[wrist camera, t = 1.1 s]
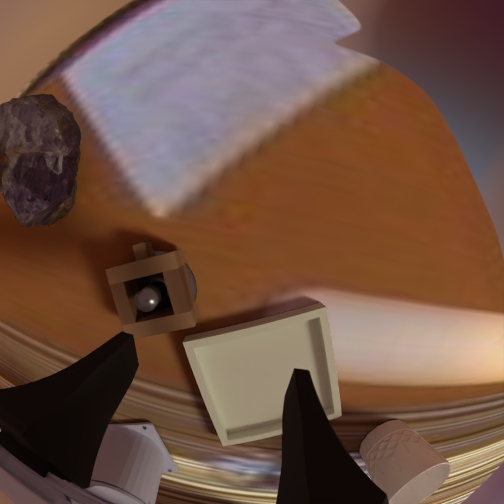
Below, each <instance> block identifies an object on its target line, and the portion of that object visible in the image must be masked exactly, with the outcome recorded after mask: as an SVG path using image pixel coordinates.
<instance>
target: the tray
mask: <svg viewBox="0 0 504 504" xmlns="http://www.w3.org/2000/svg"><path fill="white" fill-rule="evenodd" d="M183 345H184V348H185V351H186V354H187V357H188V360H189V362H190V365H191V368H192V371H193V374H194V376H195V379H196V382H197V384H198V387H199V389H200V392H201V395H202V397H203V400H204V402H205V405H206V407H207V410H208V412H209V415H210V417H211V419H212V422H213V424H214V427H215V429H216V431H217V434H218V436H219V438H220V440H221V443H222V445H223V446H228V445H233V444H239V443H244V442H249V441H254V440H259V439H264V438H268V437H272V436H276V435H281V434H282V413H283V404H284V396H285V393H286V390H287V388H288V385H289V382H290V379H291V376H292V373H293V370H294V368H297V369H306V370H309V371H310V374H311V377H312V381H313V384H314V387H315V389H316V392H317V395H318V397H319V400H320V402H321V404H322V407H323V409H324V411H325V413H326V415H327V418H328V420H331V419H334V418H337V417H340V416H342V412H341V403H340V395H339V387H338V379H337V372H336V365H335V358H334V351H333V345H332V338H331V332H330V326H329V320H328V314H327V309H326V306H325V305H323V304H322V303H321V302H320V303H317V304H313V305H310V306H306V307H303V308H299V309H296V310H292V311H288V312H285V313H281V314H277V315H273V316H269V317H266V318H262V319H258V320H254V321H250V322H246V323H242V324H237V325H233V326H229V327H225V328H220V329H216V330H211V331H207V332H202V333H198V334H193V335H188V336H185V338H184V340H183Z"/></svg>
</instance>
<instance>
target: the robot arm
mask: <svg viewBox="0 0 504 504" xmlns="http://www.w3.org/2000/svg"><path fill="white" fill-rule="evenodd" d="M138 366H139V363H138V358H137V353H136V348H135V342H134V336H133V334H129V333H126V332H123V331H122V332H120V333H119V334H117V335H116V336H114V337H113V338H111V339H110V340H109V341H107V342H106V343H104V344H103V345H102V346H100V347H99V348H97V349H96V350H94V351H93V352H91V353H90V354H88V355H87V356H85V357H84V358H82V359H80V360H79V361H77V362H76V363H74V364H72V365H71V366H69V367H67V368H65V369H63V370H61V371H59V372H57V373H55V374H53V375H50V376H48V377H45V378H43V379H40V380H37V381H35V382H31V383H28V384H24V385H21V386H16V387H11V388H5V389H0V428H1V429H2V430H1V432H0V490H1V491H2V492H3V493H4V494H6V496H8V497H9V498H10V499H11V500H12V501H13V502H14V503H15V504H155V501H156V497H157V493H158V488H159V484H160V480H161V475H162V473H176V472H178V467H177V466H176V464H175V462H174V461H173V459H172V457H171V456H170V454H169V452H168V451H167V449H166V447H165V445H164V444H163V442H162V440H161V438H160V436H159V435H158V433H157V431H156V429H155V427H154V425H153V424H152V423H150V422H144V423H127V424H109V422H110V420H111V418H112V416H113V415H114V413H115V411H116V409H117V408H118V406H119V404H120V402H121V401H122V399H123V397H124V395H125V394H126V392H127V390H128V388H129V387H130V385H131V383H132V381H133V378H134V376H135V373H136V371H137V368H138ZM143 426H145V427H146V428H145V427H143ZM276 504H389V501H388V497H387V494H386V493H385V492H384V491H383V490H381V489H380V488H379V487H378V486H377V485H376V484H375V483H374V482H373V481H372V480H371V479H370V478H369V477H368V476H367V475H366V474H365V473H364V472H363V470H362V469H361V468H360V467H359V466H358V464H357V463H356V462H355V461H354V459H353V458H352V457H351V456H350V454H349V453H348V451H347V450H346V449H345V447H344V446H343V444H342V443H341V441H340V439H339V438H338V436H337V434H336V433H335V431H334V429H333V427H332V425H331V423H330V422H329V420H328V418H327V415H326V413H325V411H324V409H323V407H322V404H321V402H320V400H319V397H318V395H317V392H316V389H315V387H314V384H313V381H312V377H311V374H310V371H309V370H306V369H297V368H294V370H293V373H292V376H291V379H290V382H289V385H288V388H287V390H286V393H285V396H284V404H283V413H282V467H281V475H280V482H279V489H278V495H277V501H276Z"/></svg>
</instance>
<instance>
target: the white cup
mask: <svg viewBox="0 0 504 504" xmlns="http://www.w3.org/2000/svg"><path fill="white" fill-rule="evenodd" d="M359 453H360V455H361V457H362V459H363V460H364V462H365V465H366V469H367V471H368V473H369V476H370V478H371V480H372V481H373V482H374V483H375V484H376V485H377V486H378V487H379V488H380V489H381V490H383V491H384V492H385V493H386V494H387V497H388V501H389V504H419V503H420V502H422V501H423V500H425V499H426V498H428V497H429V496H430V495H432V494H433V493H434V492H435V491H436V490H437V489H438V488H439V487H440V486H441V485H442V484H443V483H444V481H445V480H446V479H447V477H448V476H449V474H450V471H451V464H450V463H449V462H448V461H447V460H446V459H445V458H444V457H443V456H442V455H441V454H440V453H439V452H437V451H436V450H435V449H434V448H433V447H432V446H431V445H430V444H429V443H428V442H427V441H426V440H425V439H423V438H422V437H421V436H420V435H419V434H418V433H417V432H415V431H414V430H413V429H412V428H411V427H410V426H408V425H407V424H406V423H405V422H403V421H401V420H399V419H398V420H391V421H387V422H385V423H383V424H381V425H379V426H377V427H376V428H375V429H373V430H372V431H371V432H370V433H369V434H367V436H366V437H365V439H364V440H363V441H362V443H361V446H360V450H359Z"/></svg>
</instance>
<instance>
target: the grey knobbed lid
mask: <svg viewBox="0 0 504 504" xmlns="http://www.w3.org/2000/svg"><path fill="white" fill-rule="evenodd" d="M162 253H166V252H165V251H154V255H158V254H162ZM135 260H136V259H134V260H133V261H135ZM185 266H186V269H187V273H188V277H189V281H190V284H191V288H192V291H193V295H194V299H195V300H196V293H197V288H196V281H195V278H194V275H193V273H192V271H191V270H190V268H189V266H188V265H187V264H186V263H185ZM137 283H138V286H139V290H140V291H139V292H138V293H137V294H136V296H135V304H136V306H137V307H138V309H140V310H141V311H143V312H150V311H153V310H158V309H162V308H167V307H172V304H171V300H170V297H169V294H168V290H167V287H166V283H165V279H164V276H163V272H161V273H157V274H153V275H149V276H145V277H141V278H137Z"/></svg>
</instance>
